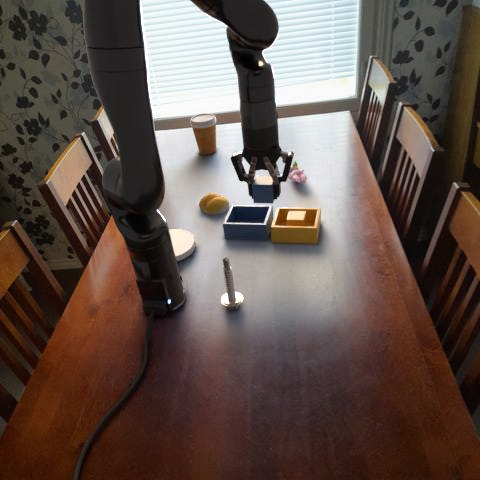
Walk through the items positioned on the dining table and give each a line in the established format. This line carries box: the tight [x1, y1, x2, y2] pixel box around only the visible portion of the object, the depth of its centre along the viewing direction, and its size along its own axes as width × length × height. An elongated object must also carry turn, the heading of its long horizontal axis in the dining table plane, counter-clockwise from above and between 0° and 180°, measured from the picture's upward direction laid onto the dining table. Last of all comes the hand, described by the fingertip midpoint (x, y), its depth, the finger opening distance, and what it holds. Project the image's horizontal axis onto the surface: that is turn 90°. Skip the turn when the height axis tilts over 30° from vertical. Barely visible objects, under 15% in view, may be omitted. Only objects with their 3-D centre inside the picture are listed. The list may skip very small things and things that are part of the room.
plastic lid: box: [169, 228, 197, 262], centre depth 119 cm, size 14×14×2 cm
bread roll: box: [198, 192, 230, 216], centre depth 133 cm, size 8×9×4 cm
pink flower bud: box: [288, 160, 308, 184], centre depth 140 cm, size 6×6×15 cm
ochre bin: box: [270, 206, 322, 244], centre depth 118 cm, size 10×12×4 cm
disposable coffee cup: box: [189, 112, 218, 155], centre depth 163 cm, size 10×10×12 cm
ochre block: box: [286, 211, 306, 226], centre depth 118 cm, size 4×4×4 cm
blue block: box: [252, 175, 276, 204], centre depth 102 cm, size 4×4×4 cm
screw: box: [220, 257, 244, 311], centre depth 96 cm, size 13×5×5 cm
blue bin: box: [222, 204, 274, 241], centre depth 122 cm, size 10×12×4 cm
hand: (265, 197), depth 104 cm, fingers closed on blue block, 4 cm apart
